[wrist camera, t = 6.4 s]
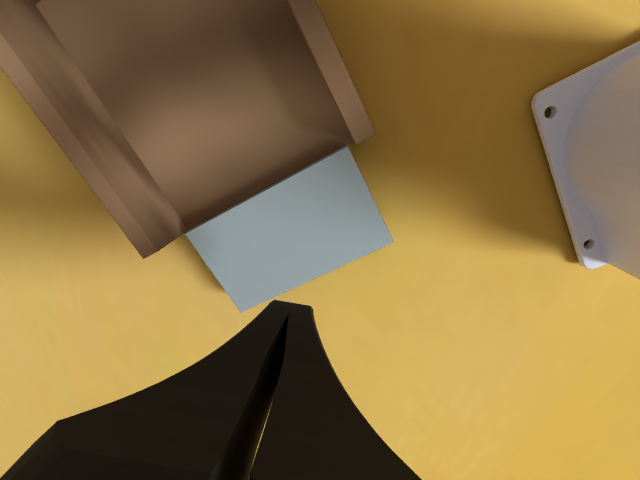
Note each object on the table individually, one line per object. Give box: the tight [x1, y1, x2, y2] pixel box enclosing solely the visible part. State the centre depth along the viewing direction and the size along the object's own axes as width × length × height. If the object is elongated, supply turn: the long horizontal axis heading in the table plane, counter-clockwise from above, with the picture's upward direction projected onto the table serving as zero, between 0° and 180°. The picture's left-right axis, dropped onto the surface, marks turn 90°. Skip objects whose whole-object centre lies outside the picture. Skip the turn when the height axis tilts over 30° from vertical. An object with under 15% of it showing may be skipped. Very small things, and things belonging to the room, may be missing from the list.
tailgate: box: [185, 145, 394, 312], centre depth 16 cm, size 1×9×5 cm
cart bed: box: [0, 0, 376, 259], centre depth 13 cm, size 12×11×4 cm
